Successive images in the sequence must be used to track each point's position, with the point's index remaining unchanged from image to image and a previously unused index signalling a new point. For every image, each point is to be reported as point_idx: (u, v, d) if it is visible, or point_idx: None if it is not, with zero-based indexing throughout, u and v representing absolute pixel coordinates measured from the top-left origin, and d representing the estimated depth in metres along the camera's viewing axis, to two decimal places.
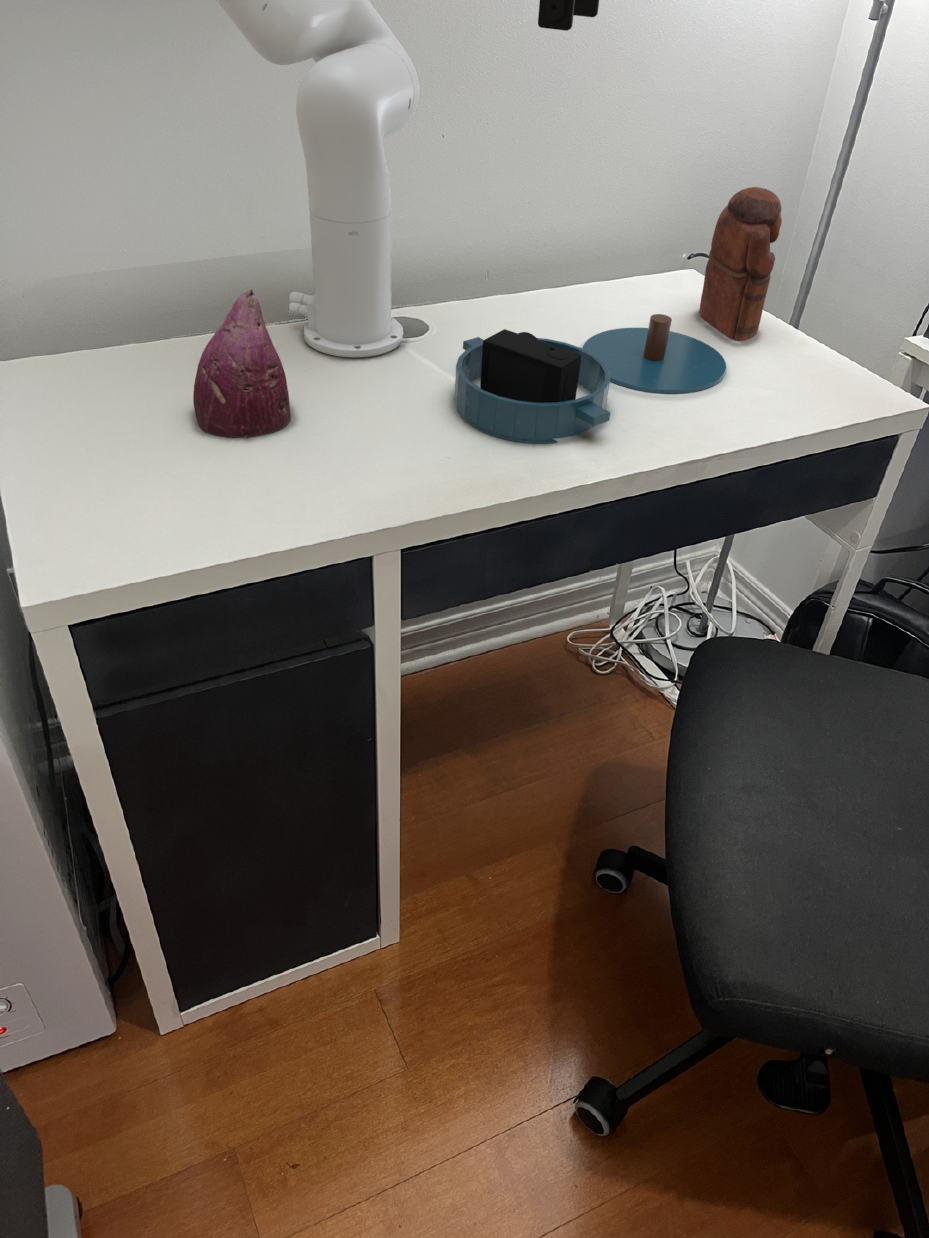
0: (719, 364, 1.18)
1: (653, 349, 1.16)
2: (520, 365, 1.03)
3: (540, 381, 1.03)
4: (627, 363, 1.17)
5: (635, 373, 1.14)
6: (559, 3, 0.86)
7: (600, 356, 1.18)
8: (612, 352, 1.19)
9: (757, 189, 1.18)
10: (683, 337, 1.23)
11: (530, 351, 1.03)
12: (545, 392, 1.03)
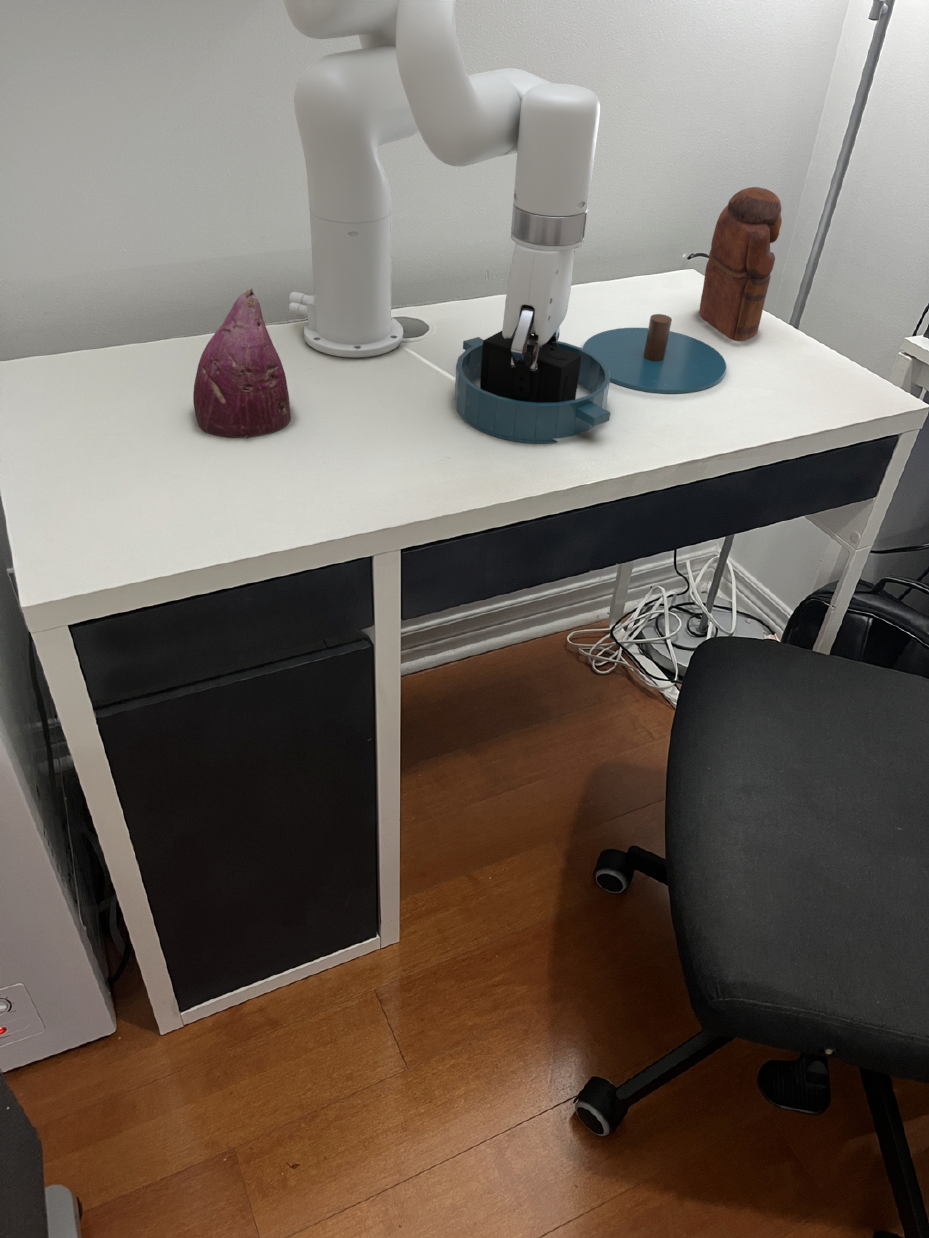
0: (719, 364, 1.18)
1: (653, 349, 1.16)
2: None
3: (540, 381, 1.03)
4: (627, 363, 1.17)
5: (635, 373, 1.14)
6: (525, 387, 1.03)
7: (600, 356, 1.18)
8: (612, 352, 1.19)
9: (757, 189, 1.18)
10: (683, 337, 1.23)
11: (530, 351, 1.03)
12: (545, 392, 1.03)
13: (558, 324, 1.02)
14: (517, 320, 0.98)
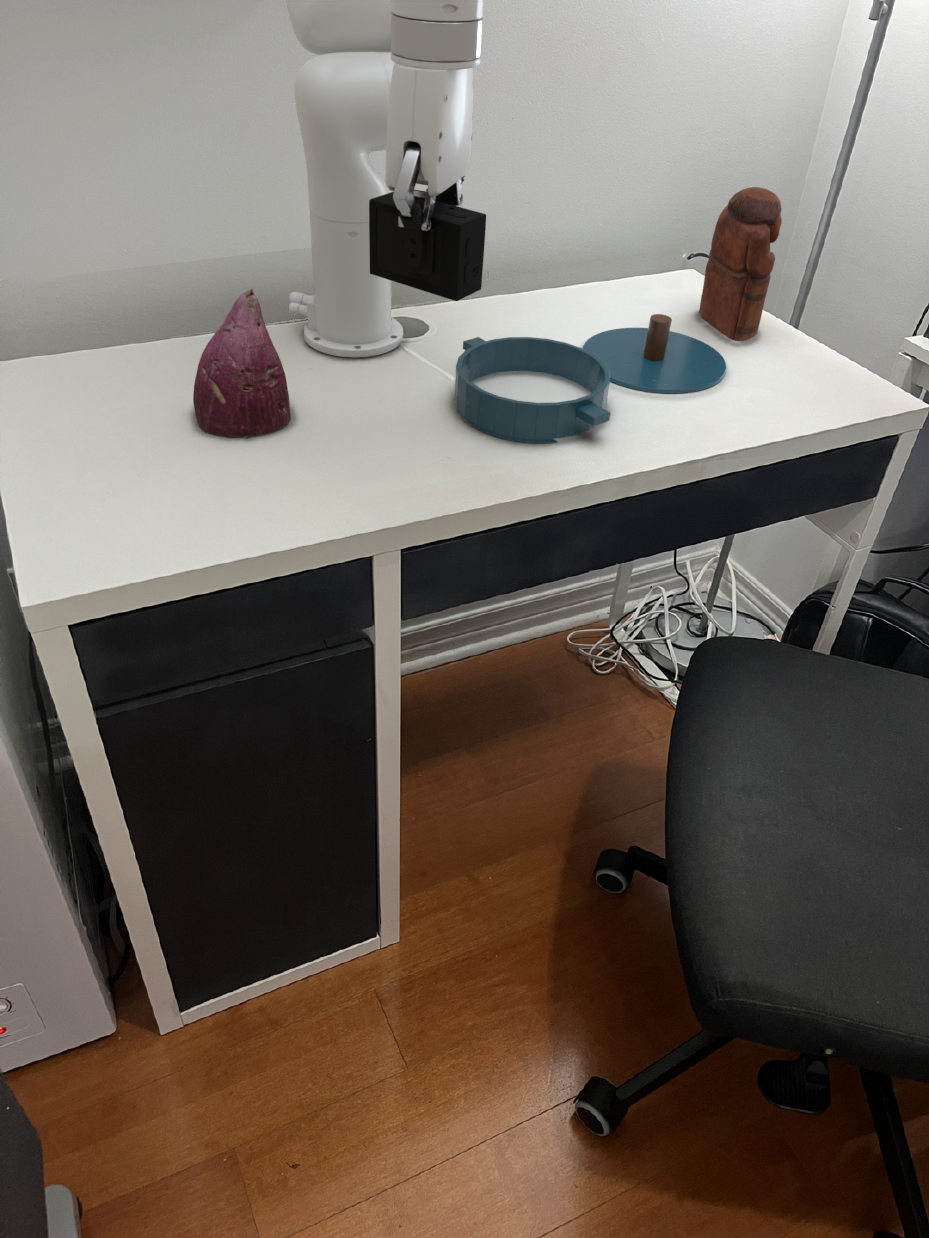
0: (719, 364, 1.18)
1: (653, 349, 1.16)
2: None
3: (437, 246, 0.85)
4: (627, 363, 1.17)
5: (635, 373, 1.14)
6: (418, 252, 0.85)
7: (600, 356, 1.18)
8: (612, 352, 1.19)
9: (757, 189, 1.18)
10: (683, 337, 1.23)
11: None
12: (443, 259, 0.85)
13: (456, 176, 0.85)
14: (400, 162, 0.80)
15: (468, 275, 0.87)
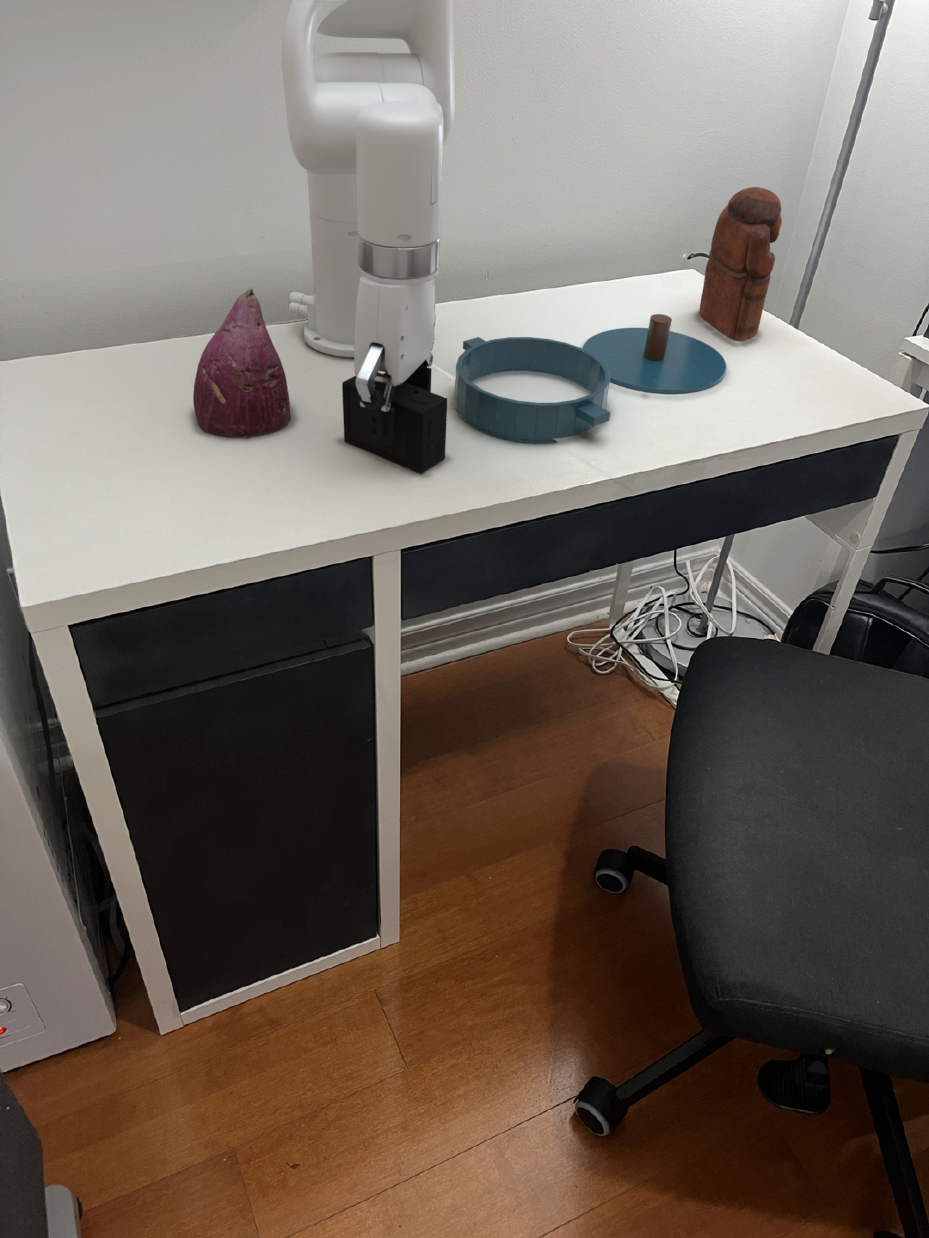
0: (719, 364, 1.18)
1: (653, 349, 1.16)
2: None
3: (403, 427, 0.94)
4: (627, 363, 1.17)
5: (635, 373, 1.14)
6: (379, 428, 0.93)
7: (600, 356, 1.18)
8: (612, 352, 1.19)
9: (757, 189, 1.18)
10: (683, 337, 1.23)
11: None
12: (409, 439, 0.95)
13: (419, 361, 0.94)
14: None
15: (431, 451, 0.96)
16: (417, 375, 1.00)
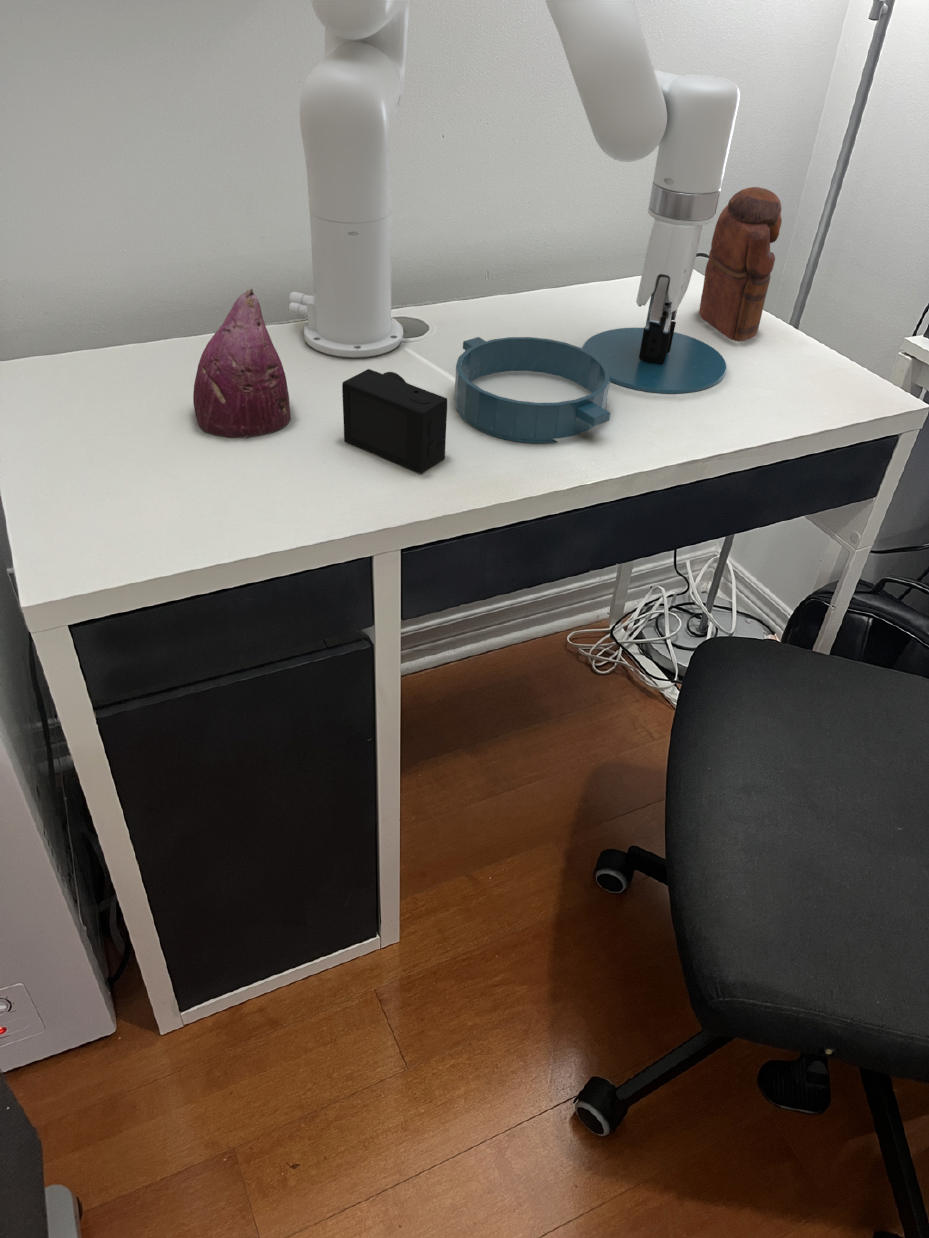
0: (719, 364, 1.18)
1: None
2: (381, 410, 0.95)
3: (403, 427, 0.94)
4: (627, 363, 1.17)
5: (635, 373, 1.14)
6: (657, 348, 1.15)
7: (600, 356, 1.18)
8: (612, 352, 1.19)
9: (757, 189, 1.18)
10: (683, 337, 1.23)
11: (392, 394, 0.95)
12: (409, 439, 0.95)
13: (684, 293, 1.13)
14: (652, 288, 1.08)
15: (431, 451, 0.96)
16: None
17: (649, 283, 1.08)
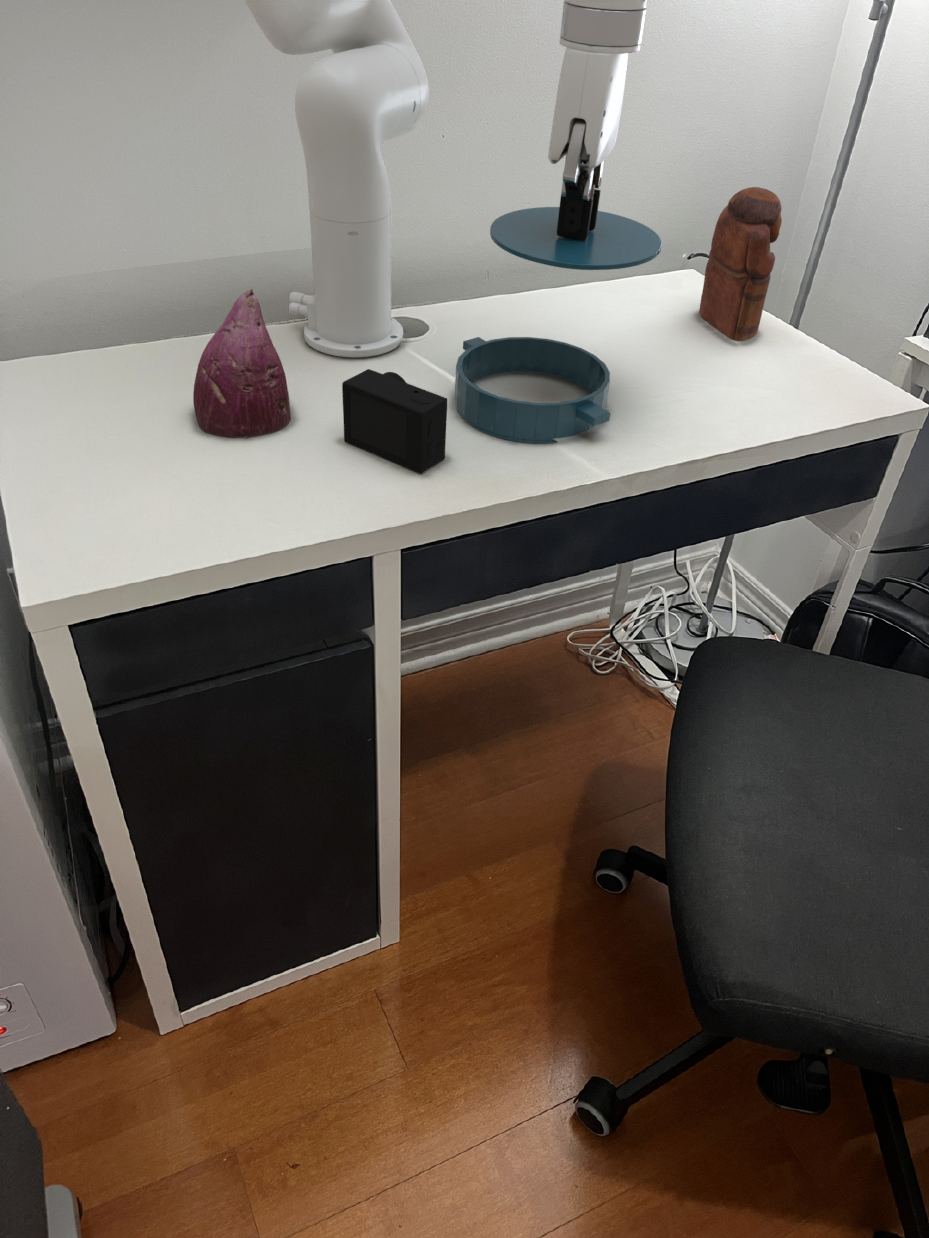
0: (653, 242, 0.98)
1: None
2: (381, 410, 0.95)
3: (403, 427, 0.94)
4: (543, 239, 0.97)
5: (551, 249, 0.95)
6: (576, 219, 0.96)
7: (511, 232, 0.98)
8: (526, 229, 0.99)
9: (757, 189, 1.18)
10: (613, 216, 1.04)
11: (392, 394, 0.95)
12: (409, 439, 0.95)
13: (608, 151, 0.94)
14: (566, 137, 0.89)
15: (431, 451, 0.96)
16: None
17: (562, 130, 0.89)
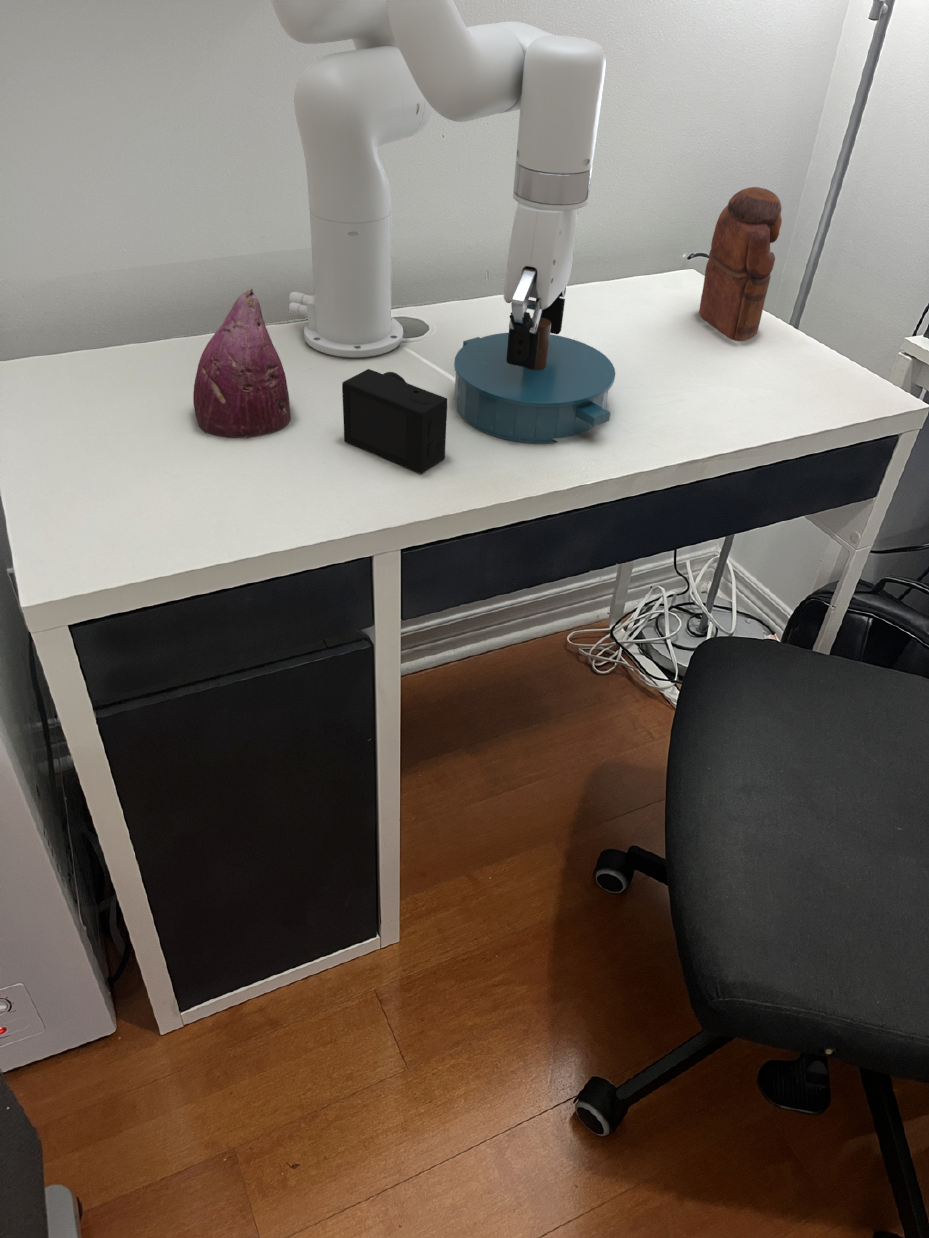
0: (607, 373, 1.05)
1: None
2: (381, 410, 0.95)
3: (403, 427, 0.94)
4: (503, 372, 1.04)
5: (509, 384, 1.02)
6: (524, 350, 0.99)
7: (474, 364, 1.05)
8: (488, 360, 1.06)
9: (757, 189, 1.18)
10: (572, 343, 1.11)
11: (392, 394, 0.95)
12: (409, 439, 0.95)
13: (561, 288, 1.00)
14: (519, 282, 0.95)
15: (431, 451, 0.96)
16: (551, 305, 1.06)
17: (515, 276, 0.95)
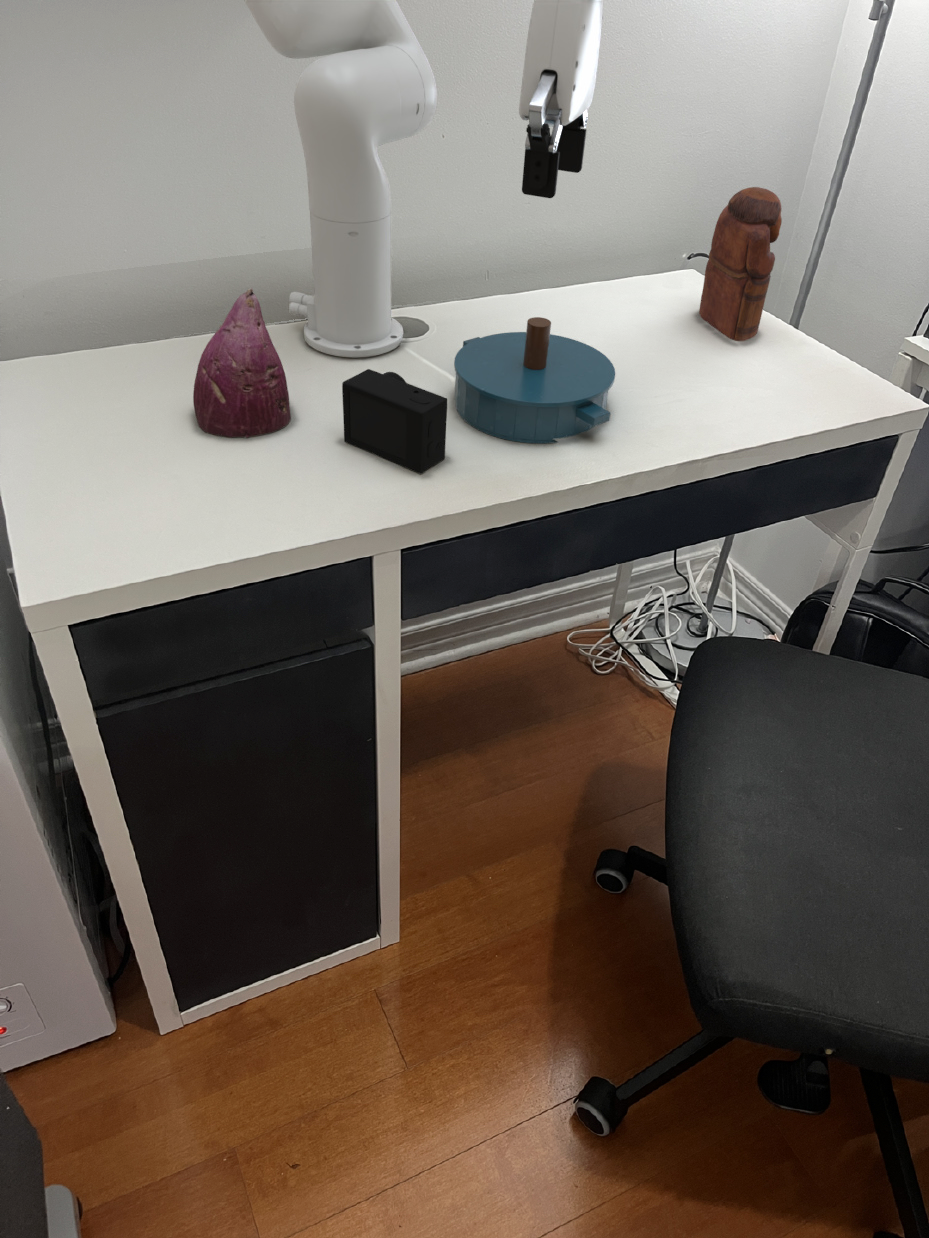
0: (607, 373, 1.05)
1: (532, 357, 1.04)
2: (381, 410, 0.95)
3: (403, 427, 0.94)
4: (503, 372, 1.04)
5: (509, 384, 1.02)
6: (542, 174, 0.88)
7: (474, 364, 1.05)
8: (488, 360, 1.06)
9: (757, 189, 1.18)
10: (572, 343, 1.11)
11: (392, 394, 0.95)
12: (409, 439, 0.95)
13: (583, 107, 0.89)
14: None
15: (431, 451, 0.96)
16: (571, 137, 0.94)
17: (532, 83, 0.84)
